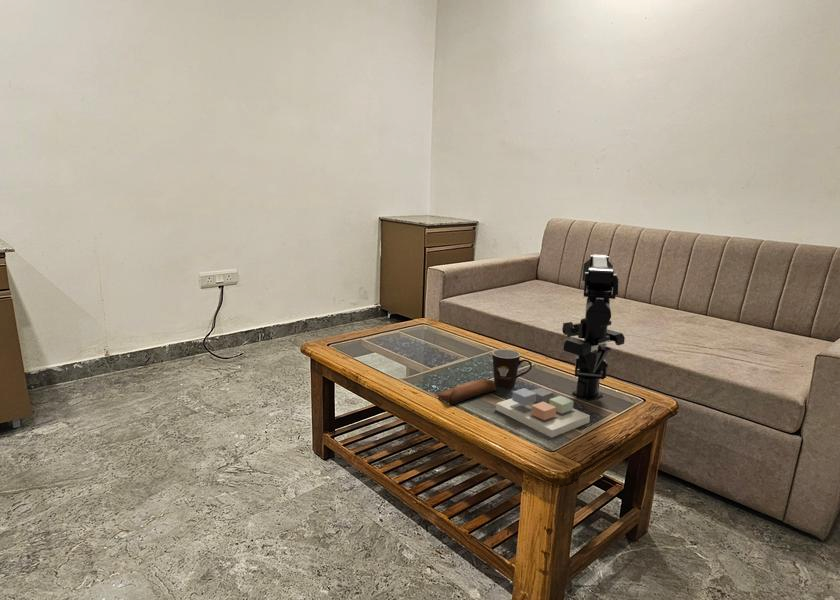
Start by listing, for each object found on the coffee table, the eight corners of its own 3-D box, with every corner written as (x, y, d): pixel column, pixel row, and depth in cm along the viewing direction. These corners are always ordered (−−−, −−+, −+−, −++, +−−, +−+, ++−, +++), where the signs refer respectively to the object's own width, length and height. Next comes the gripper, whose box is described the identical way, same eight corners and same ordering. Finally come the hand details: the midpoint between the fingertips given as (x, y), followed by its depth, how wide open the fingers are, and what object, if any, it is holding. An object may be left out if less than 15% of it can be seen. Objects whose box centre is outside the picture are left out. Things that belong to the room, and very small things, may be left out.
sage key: (559, 404, 153) (560, 395, 152) (572, 409, 149) (573, 401, 148) (548, 407, 150) (549, 399, 149) (561, 413, 146) (562, 404, 146)
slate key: (523, 396, 154) (524, 388, 153) (535, 401, 150) (536, 393, 150) (512, 400, 151) (512, 391, 150) (524, 405, 148) (524, 397, 147)
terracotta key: (542, 410, 149) (543, 401, 148) (555, 416, 145) (556, 407, 144) (531, 414, 146) (531, 405, 145) (544, 420, 142) (544, 411, 142)
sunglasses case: (476, 383, 173) (485, 368, 169) (490, 400, 170) (499, 385, 166) (432, 396, 163) (440, 382, 159) (445, 415, 159) (453, 400, 155)
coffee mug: (485, 383, 173) (486, 353, 171) (502, 376, 179) (503, 347, 177) (515, 394, 165) (517, 362, 163) (532, 386, 171) (534, 356, 169)
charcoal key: (540, 395, 158) (540, 387, 157) (552, 400, 155) (553, 392, 154) (529, 399, 155) (530, 390, 155) (541, 404, 152) (542, 396, 151)
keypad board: (532, 397, 163) (533, 390, 162) (589, 422, 147) (589, 414, 147) (496, 409, 154) (496, 402, 154) (551, 437, 139) (552, 429, 138)
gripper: (593, 305, 155) (588, 358, 159) (548, 314, 144) (544, 371, 148) (628, 313, 146) (622, 369, 150) (583, 324, 136) (578, 384, 139)
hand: (591, 372), depth 147 cm, fingers closed
